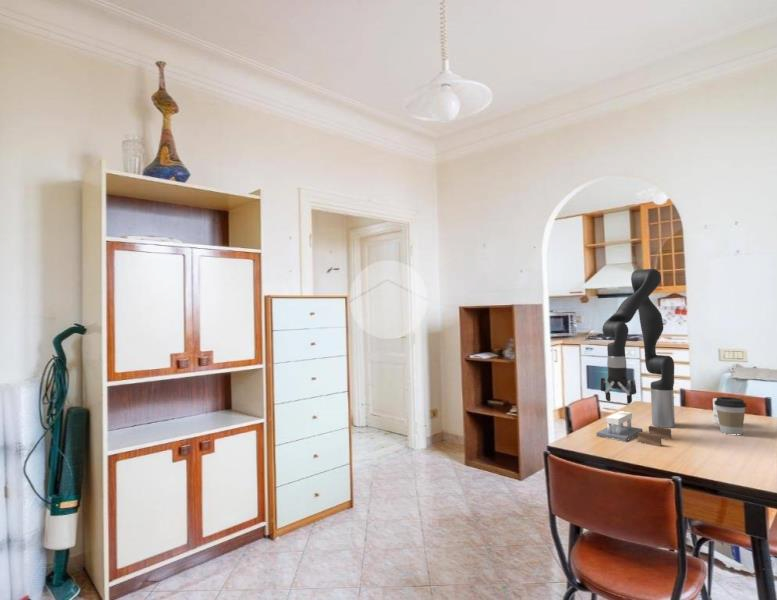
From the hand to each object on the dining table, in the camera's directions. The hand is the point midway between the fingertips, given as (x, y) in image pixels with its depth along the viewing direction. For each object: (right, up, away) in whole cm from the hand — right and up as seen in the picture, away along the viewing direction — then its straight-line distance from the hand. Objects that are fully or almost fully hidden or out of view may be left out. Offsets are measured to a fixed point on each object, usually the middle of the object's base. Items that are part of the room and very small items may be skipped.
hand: (618, 402), depth 195 cm
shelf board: (0, -8, 0) cm, 8 cm away
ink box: (+56, -13, +11) cm, 59 cm away
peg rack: (0, -14, -1) cm, 14 cm away
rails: (+10, -14, -11) cm, 20 cm away
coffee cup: (+48, -13, -3) cm, 50 cm away
